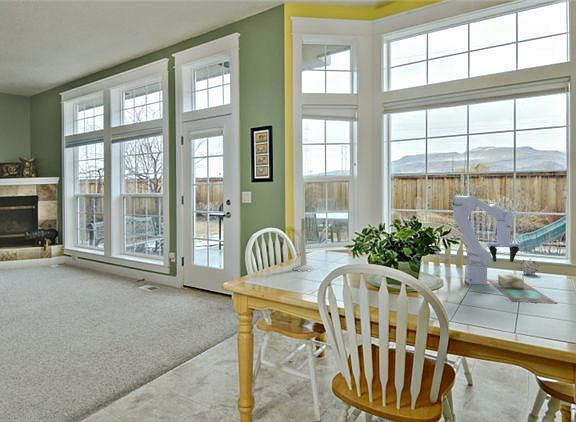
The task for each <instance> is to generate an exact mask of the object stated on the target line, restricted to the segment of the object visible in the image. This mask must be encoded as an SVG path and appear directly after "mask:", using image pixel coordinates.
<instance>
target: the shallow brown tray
mask: <svg viewBox="0 0 576 422" xmlns="http://www.w3.org/2000/svg"><path fill="white" fill-rule="evenodd" d="M487 282H488V283H490V285H492V286H493V287H494V288H496V289H497V290H498V291H500V293H501V294H503V295H504V296H506V298H508V299H509V300H510V301H512V302H515V303H532V304H533V303H535V304H558V302H557V301H555V300H553V299H551V298H550V297H549V296H547V295H545V294H543V293H542V292H541V291H538V290H537V289H535V288H534V287H533V286H531V285H529V284H528V283H526V282H524V288H515V287H504V286H502V285H501V284H499V283H498V279H488V278H487Z"/></svg>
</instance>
